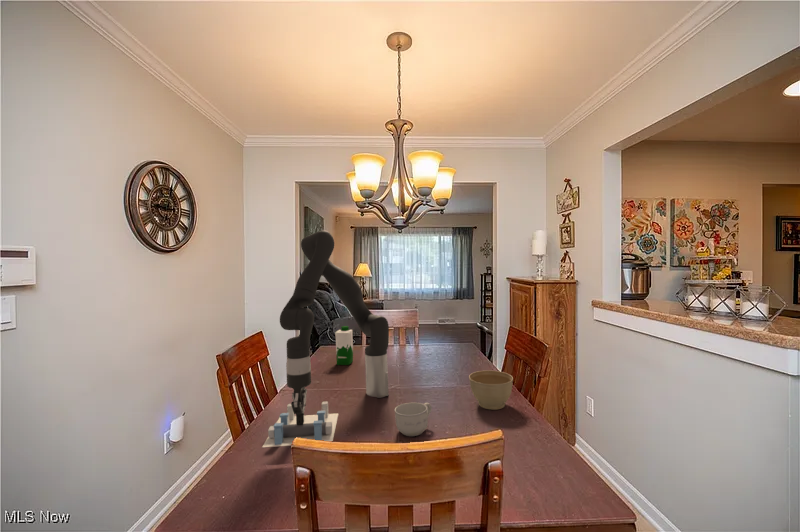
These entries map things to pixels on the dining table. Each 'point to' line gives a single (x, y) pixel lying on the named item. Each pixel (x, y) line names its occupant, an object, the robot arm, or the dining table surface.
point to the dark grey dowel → (301, 430)
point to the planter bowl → (491, 388)
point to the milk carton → (344, 346)
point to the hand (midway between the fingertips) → (300, 423)
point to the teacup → (412, 418)
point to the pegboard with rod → (291, 419)
